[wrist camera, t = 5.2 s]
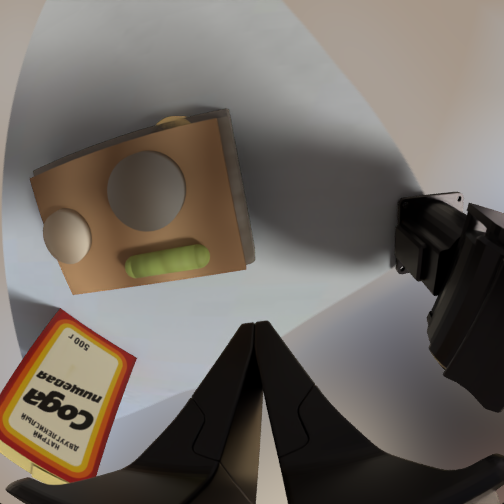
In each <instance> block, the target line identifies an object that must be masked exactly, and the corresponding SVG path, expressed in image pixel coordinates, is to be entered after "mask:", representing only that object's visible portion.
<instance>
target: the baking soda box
mask: <svg viewBox="0 0 504 504" xmlns="http://www.w3.org/2000/svg"><path fill="white" fill-rule="evenodd" d="M136 359H137V358H136V357H134V356H133V355H131V354H129V353H128V352H126V351H124V350H122V349H121V348H119V347H118V346H116V345H114V344H113V343H111V342H109V341H108V340H106V339H105V338H103V337H102V336H100V335H98V334H97V333H95V332H94V331H92V330H91V329H89V328H88V327H86V326H85V325H83V324H82V323H80V322H79V321H78V320H76V319H75V318H73V317H72V316H70V315H69V314H68V313H66V312H65V311H64V310H62V309H61V308H60V309H59V310H58V312H57V313H56V314H55V316H54V317H53V318H52V320H51V321H50V322H49V323H48V325H47V326H46V327H45V329H44V330H43V331H42V333H41V334H40V336H39V337H38V338H37V340H36V341H35V342H34V344H33V345H32V347H31V348H30V349H29V351H28V352H27V354H26V355H25V357H24V358H23V360H22V361H21V363H20V364H19V366H18V367H17V369H16V370H15V372H14V373H13V375H12V376H11V378H10V379H9V381H8V383H7V384H6V386H5V387H4V389H3V390H2V392H1V394H0V453H1V454H3V455H4V456H5V457H7V458H8V459H10V460H11V461H12V462H14V463H16V464H17V465H18V466H20V467H21V468H23V469H25V470H26V471H28V472H29V473H31V474H32V477H33V478H35V479H37V480H39V481H41V482H43V483H45V484H50V485H61V484H67V483H72V482H76V481H80V480H85V479H89V478H93V477H96V475H97V472H98V468H99V465H100V462H101V458H102V455H103V452H104V449H105V446H106V443H107V440H108V437H109V434H110V431H111V427H112V425H113V422H114V419H115V416H116V413H117V410H118V407H119V405H120V402H121V399H122V396H123V394H124V391H125V388H126V385H127V383H128V380H129V377H130V375H131V372H132V369H133V367H134V364H135V362H136Z"/></svg>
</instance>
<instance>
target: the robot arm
mask: <svg viewBox="0 0 504 504" xmlns="http://www.w3.org/2000/svg"><path fill="white" fill-rule="evenodd" d="M458 196H459V199H458V200H457V198H458ZM405 202H406V205H405V206H404V207H403V204H404V203H405ZM467 211H468V213H467V215H466V214H464V213H463V194H461V193H460V192H449V193H440V194H430V195H421V196H412V197H403V198H401V199H400V200H399V201H398V225H397V226H396V232H395V256H396V270H397V272H398V273H399V274H405V273H411V275H412V276H413V277H414V278H415V279H416V280H417V281H422V282H423V283H424V285H425V286H426V287H427V288H428V289H429V290H430V292H431V293H432V294H433V295H434V296H437V295H438V297H437V299H436V301H435V304H434V306H433V308H432V311H430V312H429V314H428V316H427V322H428V329H427V334H428V337H429V341H430V345H429V350H430V352H431V354H432V355H433V356H434V358H435V359H436V360H437V361H438V363H439V364H440V365H441V367H442V368H443V369H444V370H445V371H444V373H443V375H444V376H445V377H446V378H448V379H450V380H453V381H455V382H457V383H458V384H460V385H461V386H463V387H464V388H465V389H467V390H468V391H469V392H470V393H471V394H472V395H473V396H474V397H475V398H476V399H477V400H478V401H479V403H480V404H481V405H482V406H483V407H484V408H485V409H488V410H491V411H494V412H501V411H502V410H503V409H504V213H501V212H498V211H494V210H492V209H488V208H485V207H482V206H479V205H476V204H472V203H469V204H468V208H467ZM402 266H403V268H402V269H400V268H401V267H402ZM263 392H264V396H265V401H266V406H267V410H268V415H269V419H270V424H271V428H272V433H273V437H274V442H275V446H276V450H277V455H278V459H279V463H280V468H281V472H282V477H283V482H284V486H285V491H286V496H287V500H288V504H500V501H499V499H498V496H497V493H496V490H497V489H498V488H500V487H501V486H502V485H504V456H503V455H500V454H492V455H490V456H488V457H486V458H484V459H482V460H480V461H478V462H477V463H475V464H473V465H471V466H469V467H466V468H463V469H458V470H444V469H438V468H434V467H430V466H427V465H423V464H419V463H416V462H413V461H410V460H406V459H403V458H400V457H397V456H394V455H391V454H389V453H386V452H384V451H383V450H381V449H379V448H378V447H377V446H375V445H374V444H373V443H372V442H371V441H370V440H368V439H367V438H366V437H365V436H364V435H363V434H362V433H361V432H360V431H358V430H357V429H356V428H355V427H354V426H353V425H352V424H351V423H350V422H349V421H348V420H346V418H344V417H343V416H342V415H341V414H340V413H339V412H338V411H337V410H336V409H335V407H334V406H333V405H332V404H331V403H330V402H329V401H328V400H327V398H326V397H325V396H324V395H323V394H322V392H321V391H320V390H319V388H318V387H317V386H316V385H315V383H314V382H313V380H312V379H311V378H310V376H309V375H308V374H307V372H306V371H305V370H304V368H303V367H302V366H301V364H300V363H299V362H298V360H297V359H296V358H295V356H294V355H293V354H292V352H291V351H290V350H289V348H288V347H287V345H286V344H285V343H284V341H283V340H282V339H281V337H280V336H279V334H278V333H277V332H276V330H275V329H274V328H273V326H272V325H271V323H270V322H269V321H259V322H256V323H253V322H252V323H244V324H242V325H241V326H240V327H239V329H238V330H237V331H236V333H235V334H234V336H233V337H232V339H231V340H230V342H229V343H228V345H227V346H226V348H225V349H224V351H223V352H222V353H221V355H220V356H219V358H218V359H217V361H216V362H215V364H214V365H213V367H212V368H211V369H210V371H209V372H208V374H207V375H206V377H205V378H204V379H203V381H202V382H201V384H200V385H199V387H198V388H197V389H196V391H195V392H194V394H193V395H192V398H190V399H189V401H188V402H187V403H186V405H185V406H184V408H183V409H182V410H181V411H180V413H179V414H178V415H177V417H176V418H175V419H174V420H173V421H172V423H171V424H170V425H169V426H168V427H167V428H166V429H165V430H164V431H163V433H162V434H161V435H160V436H159V437H158V438H157V439H156V440H155V441H154V442H153V443H152V444H151V445H150V446H149V447H148V448H147V449H146V450H145V451H144V452H143V453H142V454H141V456H139V457H138V458H137V459H136V460H135V461H134V462H132V463H131V464H130V465H128V466H127V467H125V468H123V469H121V470H117V471H114V472H111V473H107V474H104V475H100V476H96V477H93V478H89V479H85V480H80V481H76V482H72V483H67V484H61V485H50V484H45V483H41V482H39V481H37V480H34V479H32V478H28V477H27V478H24V479H20V480H17V481H14V482H13V483H11V484H10V485H8V486H7V488H6V491H7V492H8V493H10V494H11V495H13V496H14V497H16V498H17V499H19V500H20V501H22V502H23V503H25V504H256V493H257V479H258V466H259V452H260V436H261V420H262V404H263ZM0 504H1V503H0ZM503 504H504V503H503Z"/></svg>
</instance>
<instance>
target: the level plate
mask: <svg viewBox="0 0 504 504" xmlns="http://www.w3.org/2000/svg"><path fill="white" fill-rule="evenodd" d="M30 182H31V185H32V189H33V192H34V196H35V199H36V202H37V205H38V208H39V212H40V215H41V218H42V221H43V223H44V227H43V237H44V241H45V244H46V247H47V248H48V250H49V252H50V253H51V254H52V255H53V256H54V257H55V258H56V259H57V260H58V263H59V265H60V267H61V270H62V272H63V274H64V277H65V279H66V281H67V283H68V285H69V288H70V290H71V292H72V294H73V295H76V294H83V293H91V292H98V291H105V290H112V289H119V288H127V287H134V286H141V285H147V284H154V283H161V282H168V281H175V280H181V279H188V278H194V277H201V276H208V275H214V274H220V273H227V272H233V271H240V270H246V265H248V264H251V263H253V262H254V261H255V254H254V249H253V244H252V238H251V233H250V228H249V222H248V217H247V212H246V206H245V201H244V196H243V190H242V185H241V180H240V174H239V169H238V164H237V158H236V153H235V148H234V143H233V137H232V132H231V127H230V121H229V116H226V117H221V118H214V119H210V120H205V121H200V122H196V123H192V124H187V125H183V126H179V127H175V128H171V129H167V130H164V131H160V132H156V133H153V134H149V135H146V136H142V137H139V138H136V139H132V140H129V141H126V142H123V143H120V144H116V145H113V146H110V147H108V148H105V149H102V150H99V151H96V152H93V153H91V154H88V155H85V156H82V157H80V158H77V159H75V160H72V161H70V162H67V163H65V164H62V165H60V166H57V167H55V168H53V169H50V170H48V171H46V172H43V173H41V174H39V175H37V176H34V177H32V178H30Z"/></svg>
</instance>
